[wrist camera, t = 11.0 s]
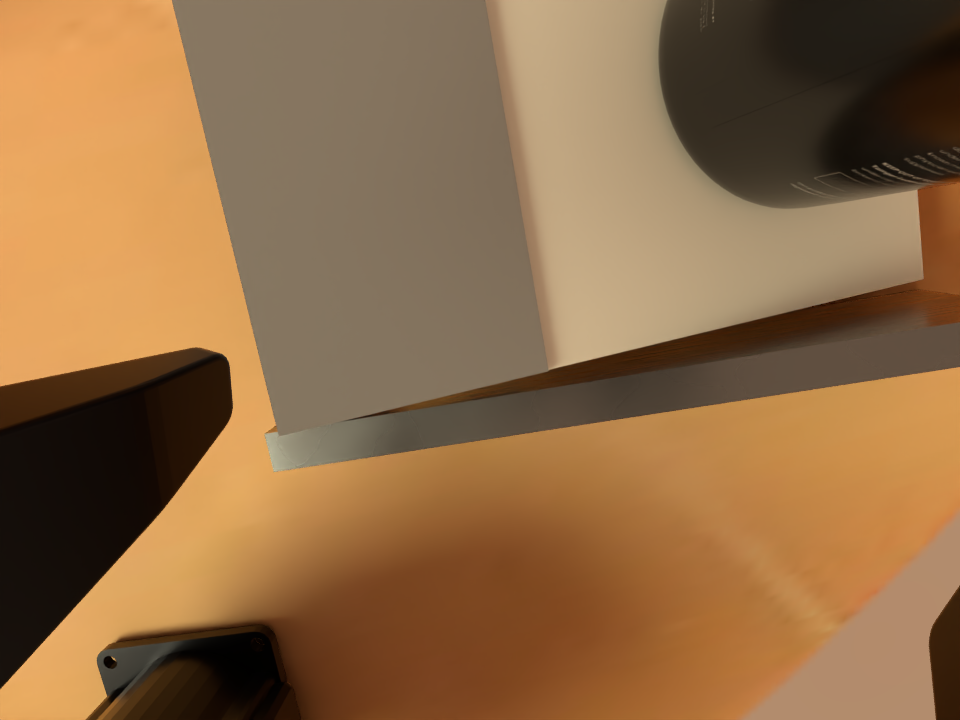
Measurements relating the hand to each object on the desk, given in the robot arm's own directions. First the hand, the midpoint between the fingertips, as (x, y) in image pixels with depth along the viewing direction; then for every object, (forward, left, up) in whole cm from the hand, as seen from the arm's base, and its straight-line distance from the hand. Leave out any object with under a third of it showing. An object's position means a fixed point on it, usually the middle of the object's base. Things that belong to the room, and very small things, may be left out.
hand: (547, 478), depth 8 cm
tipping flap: (+1, +6, -11) cm, 12 cm away
